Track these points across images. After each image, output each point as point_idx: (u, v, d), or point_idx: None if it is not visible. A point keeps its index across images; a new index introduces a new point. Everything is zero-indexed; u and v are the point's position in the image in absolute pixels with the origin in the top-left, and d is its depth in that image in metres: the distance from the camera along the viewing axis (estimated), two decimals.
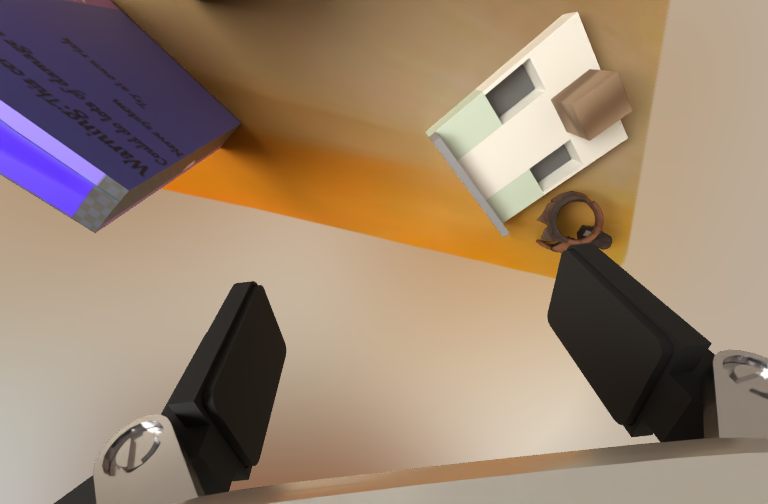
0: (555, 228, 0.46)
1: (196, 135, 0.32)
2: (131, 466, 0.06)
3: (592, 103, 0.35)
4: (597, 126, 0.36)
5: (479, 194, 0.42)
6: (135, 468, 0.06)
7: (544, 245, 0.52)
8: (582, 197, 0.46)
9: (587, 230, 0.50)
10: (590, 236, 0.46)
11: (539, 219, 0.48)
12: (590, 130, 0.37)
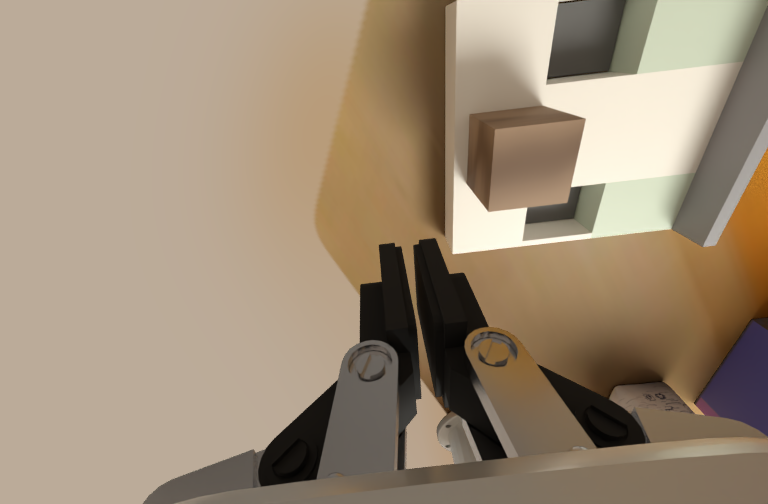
0: None
1: None
2: (362, 373, 0.07)
3: (543, 186, 0.20)
4: (558, 139, 0.18)
5: None
6: (364, 379, 0.07)
7: None
8: None
9: None
10: None
11: None
12: (572, 140, 0.18)
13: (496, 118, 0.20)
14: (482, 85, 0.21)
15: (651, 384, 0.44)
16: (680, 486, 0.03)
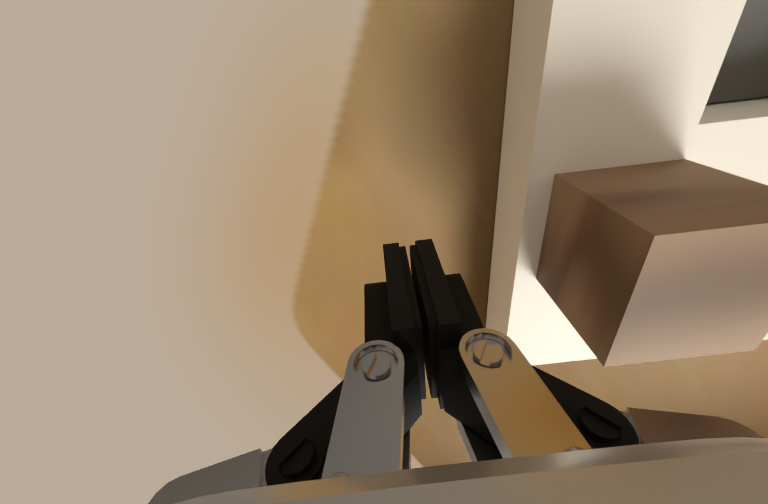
0: None
1: None
2: (368, 373, 0.07)
3: (719, 327, 0.10)
4: None
5: None
6: (370, 379, 0.07)
7: None
8: None
9: None
10: None
11: None
12: None
13: (623, 193, 0.10)
14: (585, 126, 0.11)
15: None
16: (680, 486, 0.03)
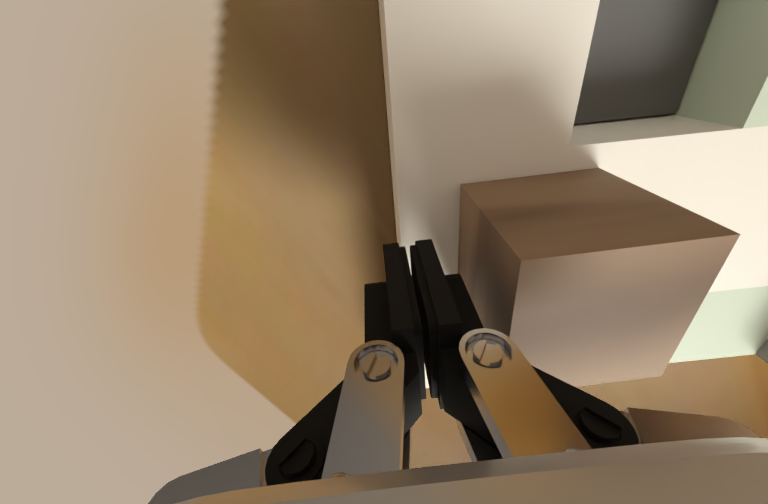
0: None
1: None
2: (368, 372, 0.07)
3: (617, 354, 0.09)
4: (667, 276, 0.08)
5: None
6: (370, 379, 0.07)
7: None
8: None
9: None
10: None
11: None
12: (697, 275, 0.08)
13: (516, 207, 0.09)
14: (447, 147, 0.11)
15: None
16: (680, 486, 0.03)
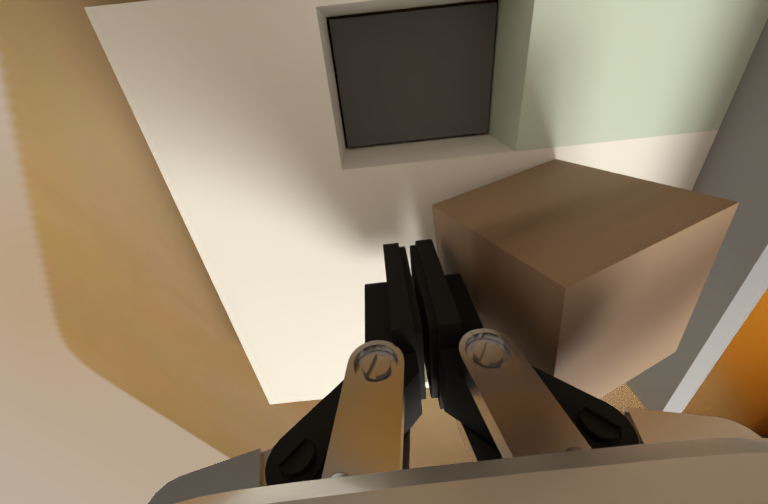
0: None
1: None
2: (368, 373, 0.07)
3: (645, 347, 0.09)
4: (685, 259, 0.07)
5: None
6: (370, 379, 0.07)
7: None
8: None
9: None
10: None
11: None
12: (707, 250, 0.08)
13: (510, 220, 0.08)
14: (216, 171, 0.11)
15: None
16: (679, 486, 0.03)
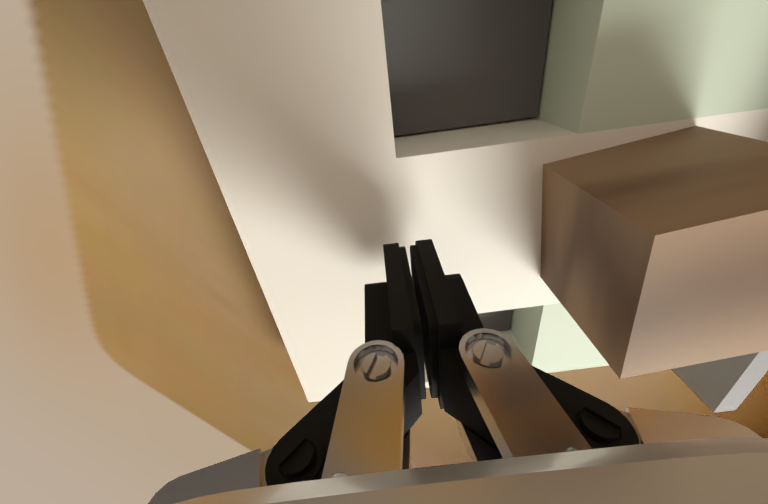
0: None
1: None
2: (368, 373, 0.07)
3: (755, 324, 0.08)
4: None
5: None
6: (370, 379, 0.07)
7: None
8: None
9: None
10: None
11: None
12: None
13: (620, 180, 0.09)
14: (267, 163, 0.10)
15: None
16: (679, 486, 0.03)
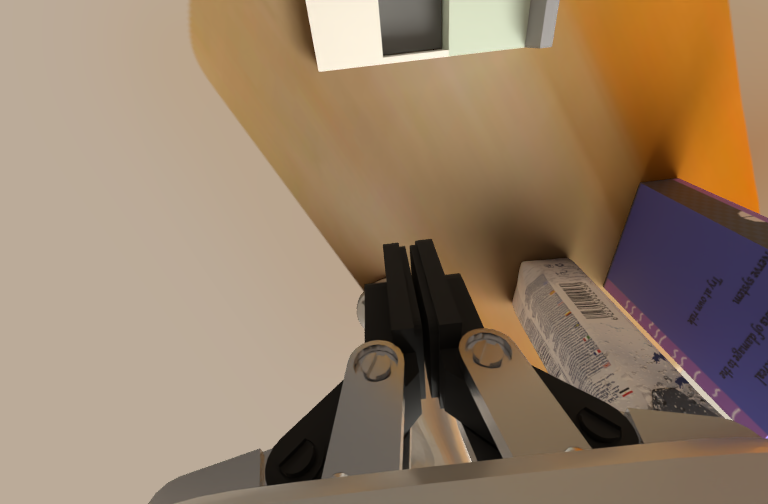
0: None
1: (716, 234, 0.32)
2: (368, 373, 0.07)
3: None
4: None
5: None
6: (370, 379, 0.07)
7: None
8: None
9: None
10: None
11: None
12: None
13: None
14: None
15: (555, 259, 0.46)
16: (680, 486, 0.03)
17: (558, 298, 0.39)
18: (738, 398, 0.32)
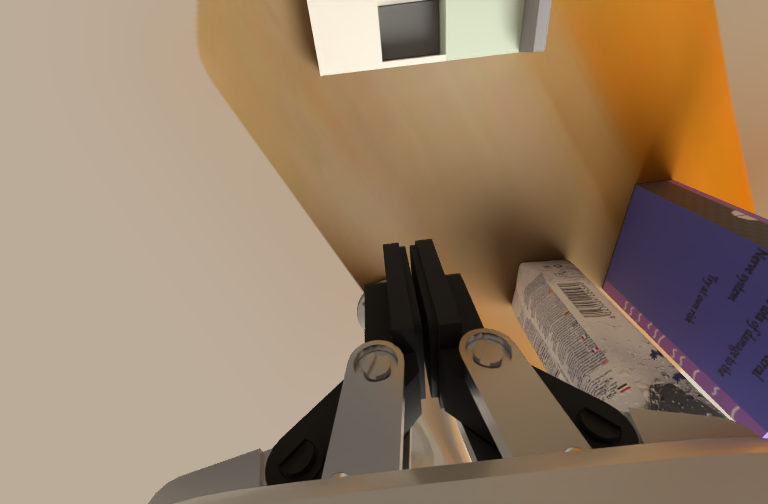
0: None
1: (710, 233, 0.33)
2: (368, 373, 0.07)
3: None
4: None
5: None
6: (370, 379, 0.07)
7: None
8: None
9: None
10: None
11: None
12: None
13: None
14: None
15: (553, 260, 0.47)
16: (680, 486, 0.03)
17: (556, 297, 0.39)
18: (737, 396, 0.32)
